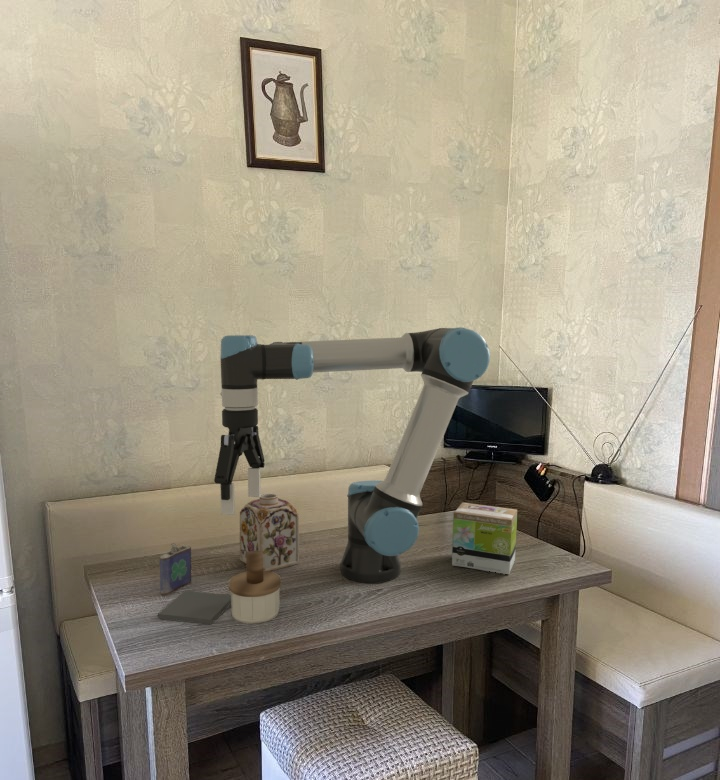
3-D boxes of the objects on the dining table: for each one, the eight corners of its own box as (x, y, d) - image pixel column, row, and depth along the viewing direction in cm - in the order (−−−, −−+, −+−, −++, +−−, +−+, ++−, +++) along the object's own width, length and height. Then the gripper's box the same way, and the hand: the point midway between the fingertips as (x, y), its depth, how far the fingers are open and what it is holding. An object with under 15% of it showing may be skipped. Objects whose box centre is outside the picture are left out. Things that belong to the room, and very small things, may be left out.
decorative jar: (260, 575, 156) (259, 504, 154) (238, 561, 165) (237, 494, 163) (300, 564, 163) (300, 496, 161) (277, 551, 172) (277, 487, 170)
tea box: (451, 567, 162) (452, 511, 160) (459, 554, 171) (461, 501, 169) (510, 576, 156) (512, 518, 154) (516, 562, 165) (517, 507, 164)
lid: (287, 578, 139) (287, 546, 138) (270, 599, 128) (270, 565, 127) (241, 573, 141) (240, 542, 140) (220, 594, 130) (219, 560, 130)
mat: (234, 599, 142) (234, 595, 141) (211, 624, 130) (211, 619, 130) (185, 594, 144) (185, 590, 144) (158, 618, 132) (158, 613, 132)
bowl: (284, 604, 139) (284, 578, 138) (269, 625, 129) (269, 597, 129) (242, 600, 141) (242, 574, 140) (224, 620, 131) (223, 593, 131)
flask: (165, 596, 143) (164, 551, 142) (156, 594, 144) (155, 548, 143) (194, 582, 151) (193, 539, 150) (185, 580, 152) (184, 537, 151)
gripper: (247, 400, 146) (249, 489, 148) (194, 415, 122) (197, 521, 124) (277, 401, 144) (279, 491, 147) (230, 416, 120) (232, 524, 123)
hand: (241, 505), depth 135 cm, fingers open, 13 cm apart
